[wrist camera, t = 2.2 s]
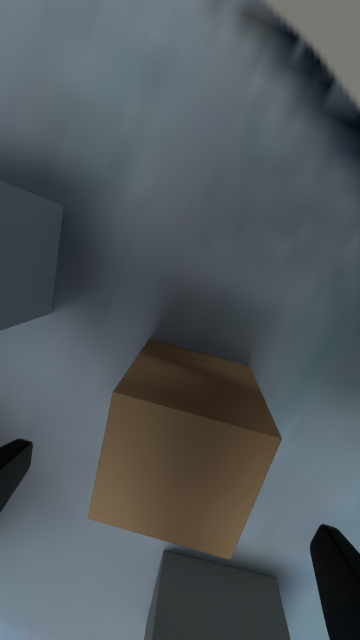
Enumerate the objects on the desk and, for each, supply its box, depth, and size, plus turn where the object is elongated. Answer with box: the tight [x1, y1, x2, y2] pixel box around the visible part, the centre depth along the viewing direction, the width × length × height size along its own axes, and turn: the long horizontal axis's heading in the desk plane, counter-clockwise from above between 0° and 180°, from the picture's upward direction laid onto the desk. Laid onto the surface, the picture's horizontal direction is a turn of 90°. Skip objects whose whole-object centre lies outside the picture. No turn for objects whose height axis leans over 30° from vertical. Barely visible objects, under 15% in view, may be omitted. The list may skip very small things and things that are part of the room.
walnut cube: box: [88, 339, 282, 560], centre depth 10 cm, size 5×5×5 cm
